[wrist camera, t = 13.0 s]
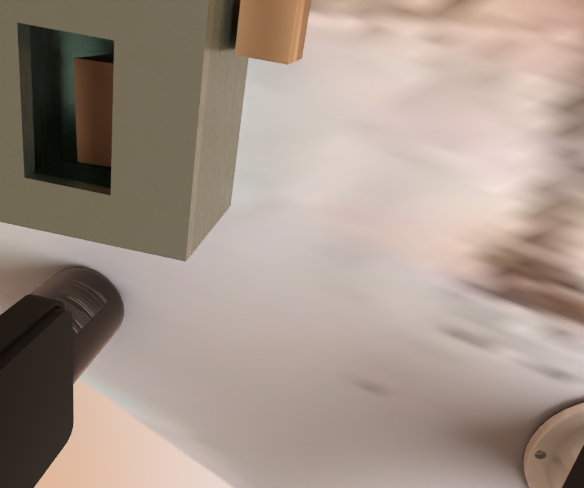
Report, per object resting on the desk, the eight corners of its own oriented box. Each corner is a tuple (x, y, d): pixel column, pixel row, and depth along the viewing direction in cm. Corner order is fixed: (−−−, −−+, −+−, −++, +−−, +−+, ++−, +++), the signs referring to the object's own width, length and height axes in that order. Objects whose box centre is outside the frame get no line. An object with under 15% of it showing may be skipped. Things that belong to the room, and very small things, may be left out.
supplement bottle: (35, 276, 44) (-79, 360, 33) (104, 255, 42) (8, 337, 31) (73, 344, 46) (-22, 445, 35) (140, 327, 44) (63, 427, 33)
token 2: (318, -46, 32) (306, -61, 26) (301, 58, 34) (287, 64, 29) (270, -54, 32) (248, -70, 26) (256, 50, 34) (234, 54, 29)
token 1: (163, 58, 35) (124, 65, 29) (161, 148, 37) (124, 169, 32) (120, 52, 35) (73, 57, 29) (121, 141, 37) (77, 161, 32)
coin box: (255, -2, 33) (209, -12, 24) (230, 205, 39) (185, 261, 30) (45, -39, 34) (-76, -62, 25) (50, 169, 40) (-47, 211, 30)
